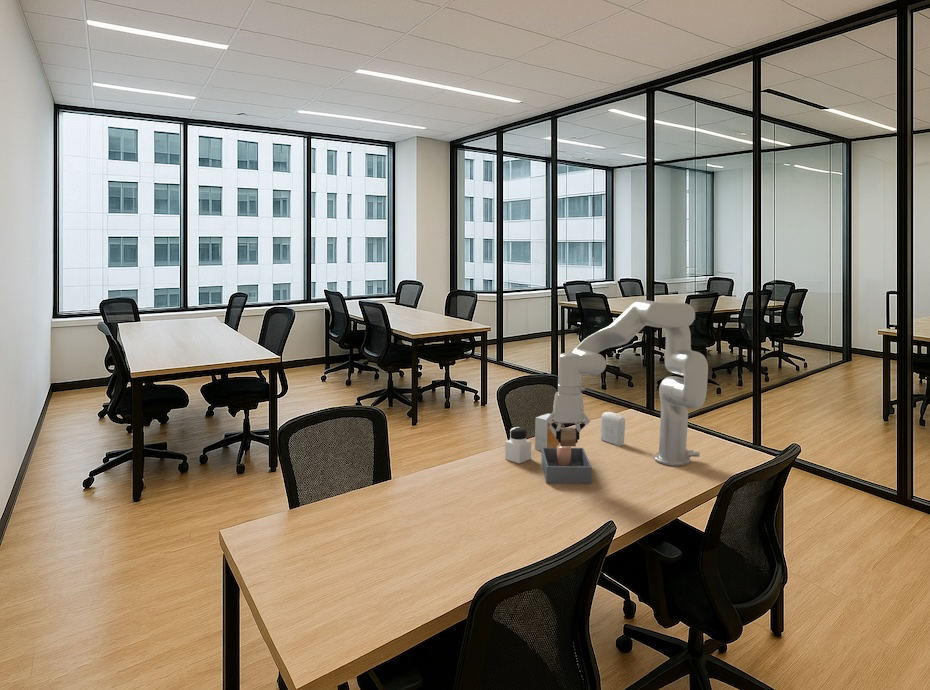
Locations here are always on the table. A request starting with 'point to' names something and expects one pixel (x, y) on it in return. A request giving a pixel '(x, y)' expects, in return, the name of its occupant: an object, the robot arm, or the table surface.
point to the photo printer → (612, 428)
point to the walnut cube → (568, 437)
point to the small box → (545, 433)
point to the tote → (566, 467)
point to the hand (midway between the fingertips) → (567, 441)
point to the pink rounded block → (563, 455)
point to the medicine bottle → (518, 446)
